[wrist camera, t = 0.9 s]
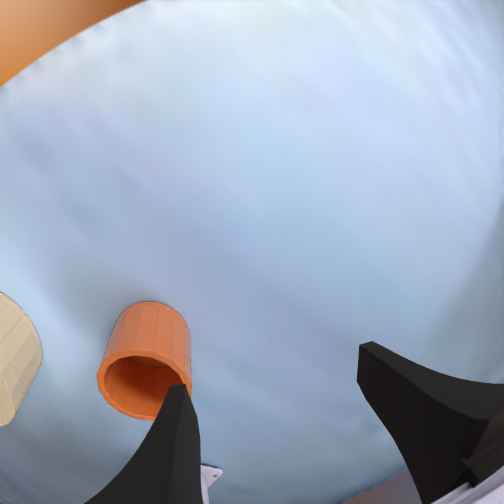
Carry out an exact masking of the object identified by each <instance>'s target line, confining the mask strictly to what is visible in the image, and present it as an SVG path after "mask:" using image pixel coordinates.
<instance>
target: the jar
mask: <svg viewBox="0 0 504 504" xmlns="http://www.w3.org/2000/svg"><path fill="white" fill-rule="evenodd" d="M41 362H42V347H41V343H40V339H39V336H38V334H37V332H36V329H35V327H34V326H33V324H32V322H31V321H30V319H29V318H28V316H27V315H26V314H25V312H24V311H23V310H22V309H21V308H20V307H19V306H18V305H17V304H16V303H15V302H14V301H13V300H11V299H10V298H9V297H7V296H6V295H4V294H2V293H0V426H3V425H8V424H9V423H10V422H11V421H12V420H13V418H14V417H15V415H16V413H17V411H18V408H19V406H20V404H21V402H22V401H23V399H24V397H25V395H26V393H27V391H28V389H29V387H30V385H31V383H32V382H33V380H34V378H35V376H36V374H37V372H38V369H39V368H40V365H41Z"/></svg>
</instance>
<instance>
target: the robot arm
mask: <svg viewBox="0 0 504 504" xmlns="http://www.w3.org/2000/svg"><path fill="white" fill-rule="evenodd" d="M357 382H358V384H359V386H360V389H361V391H362V393H363V394H364V396H365V398H366V400H367V401H368V403H369V404H370V406H371V407H372V409H373V410H374V412H375V413H376V414H377V416H378V417H379V419H380V420H381V421H382V423H383V424H384V426H385V427H386V429H387V430H388V431H389V433H390V434H391V436H392V438H393V439H394V441H395V443H396V445H397V446H398V448H399V450H400V452H401V454H402V456H403V458H404V460H405V462H406V465H407V467H408V469H409V471H410V473H411V476H412V478H413V480H414V483H415V485H416V487H417V490H418V493H419V496H420V499H421V502H422V504H504V384H492V383H482V382H475V381H469V380H464V379H460V378H456V377H452V376H448V375H445V374H442V373H439V372H436V371H433V370H431V369H428V368H426V367H424V366H421V365H419V364H417V363H414V362H412V361H410V360H408V359H406V358H404V357H402V356H400V355H398V354H396V353H394V352H392V351H391V350H389V349H387V348H385V347H383V346H381V345H379V344H377V343H375V342H373V341H371V342H367V343H364V344H361V345H359V358H358V371H357ZM222 474H223V473H222V470H221V469H218V468H213V467H209V466H204V465H201V457H200V434H199V426H198V419H197V415H196V413H195V410H194V407H193V404H192V401H191V398H190V396H189V393H188V390H187V387H186V384H180V385H172V386H170V387H169V388H168V391H167V394H166V396H165V399H164V401H163V404H162V406H161V408H160V410H159V412H158V414H157V416H156V418H155V421H154V423H153V425H152V426H151V428H150V430H149V432H148V433H147V435H146V437H145V439H144V440H143V442H142V444H141V445H140V447H139V448H138V450H137V451H136V453H135V454H134V455H133V457H132V458H131V459H130V461H129V462H128V463H127V464H126V466H125V467H124V468H123V469H122V470H121V471H120V473H119V474H118V475H117V476H116V477H115V478H114V479H113V480H112V481H111V482H110V483H109V484H108V485H107V486H106V487H105V488H103V489H102V490H101V491H100V492H99V493H98V494H96V495H95V496H94V497H92V498H91V499H90V500H88V501H87V502H86V503H84V504H209V499H208V490H207V488H209V487H210V486H211V485H212V484H213V483H214V482H215V481H216V480H217V479H218V478H219V477H220V476H221V475H222Z"/></svg>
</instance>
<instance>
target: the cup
mask: <svg viewBox="0 0 504 504" xmlns="http://www.w3.org/2000/svg"><path fill="white" fill-rule="evenodd" d="M97 382H98V389H99V391H100V392H101V394H102V395H103V397H104V398H105V400H106V401H107V402H108V403H109V404H110V405H111V406H112V407H114V408H115V409H116V410H118V411H119V412H121V413H123V414H125V415H128V416H130V417H133V418H136V419H142V420H152V421H155V418H156V416H157V414H158V412H159V410H160V408H161V406H162V404H163V401H164V399H165V396H166V394H167V391H168V388H169V387H170V386H172V385H180V384H186V387H187V390H188V393H189V396H190V398H191V389H192V380H191V343H190V333H189V329H188V326H187V324H186V322H185V320H184V319H183V318H182V317H181V315H180V314H178V313H177V312H176V311H175V310H173V309H172V308H170V307H168V306H166V305H164V304H161V303H156V302H141V303H136V304H134V305H131V306H129V307H128V308H126V309H125V310H124V311H123V312H122V313H121V314H120V315H119V317H118V319H117V321H116V324H115V326H114V328H113V331H112V333H111V336H110V339H109V341H108V344H107V347H106V350H105V352H104V355H103V358H102V361H101V364H100V366H99V369H98V372H97Z"/></svg>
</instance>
